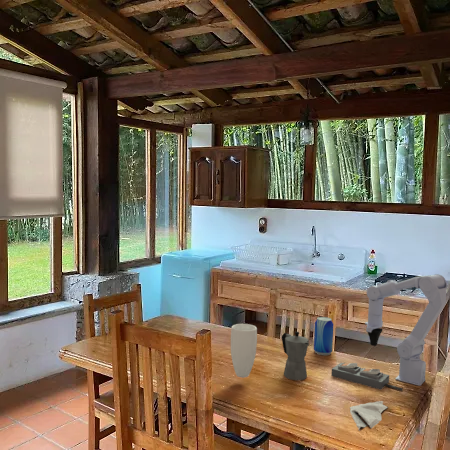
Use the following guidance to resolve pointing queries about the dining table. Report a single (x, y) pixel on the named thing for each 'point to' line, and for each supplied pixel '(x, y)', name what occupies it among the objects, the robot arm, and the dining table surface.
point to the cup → (243, 348)
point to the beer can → (323, 336)
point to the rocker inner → (371, 371)
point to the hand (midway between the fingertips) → (373, 345)
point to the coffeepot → (295, 356)
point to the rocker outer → (349, 365)
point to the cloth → (367, 413)
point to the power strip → (362, 377)
